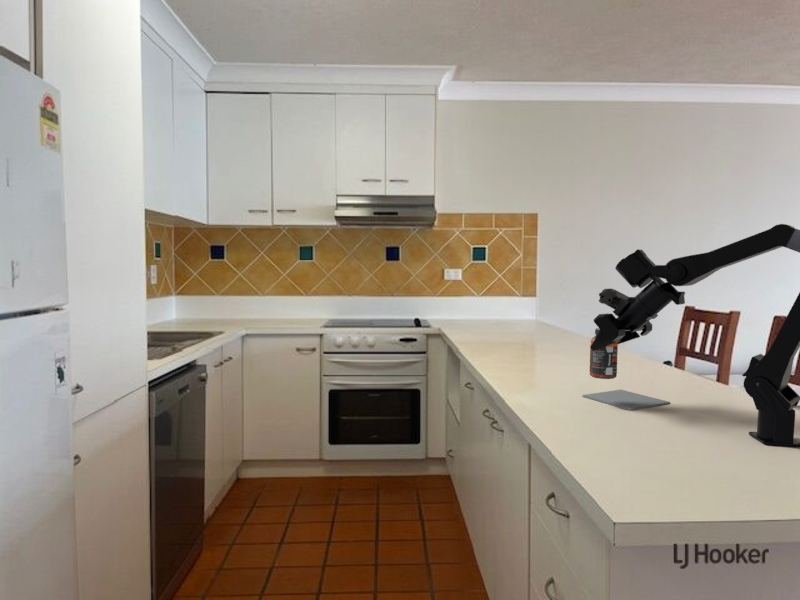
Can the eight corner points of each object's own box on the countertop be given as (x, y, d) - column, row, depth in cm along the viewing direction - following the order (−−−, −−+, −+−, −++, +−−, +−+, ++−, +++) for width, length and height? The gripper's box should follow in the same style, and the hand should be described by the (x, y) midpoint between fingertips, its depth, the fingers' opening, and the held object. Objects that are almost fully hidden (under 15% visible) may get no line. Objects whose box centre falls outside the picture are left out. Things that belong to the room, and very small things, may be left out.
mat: (670, 403, 130) (670, 401, 130) (630, 410, 123) (630, 408, 123) (620, 391, 142) (620, 389, 142) (582, 396, 135) (582, 395, 135)
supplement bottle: (617, 380, 123) (618, 330, 122) (589, 378, 125) (590, 329, 124) (616, 375, 129) (617, 327, 128) (589, 373, 131) (590, 326, 130)
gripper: (640, 276, 129) (594, 319, 138) (603, 276, 116) (555, 324, 125) (674, 311, 124) (624, 354, 132) (639, 316, 111) (587, 363, 120)
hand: (598, 348), depth 127 cm, fingers closed on supplement bottle, 6 cm apart
